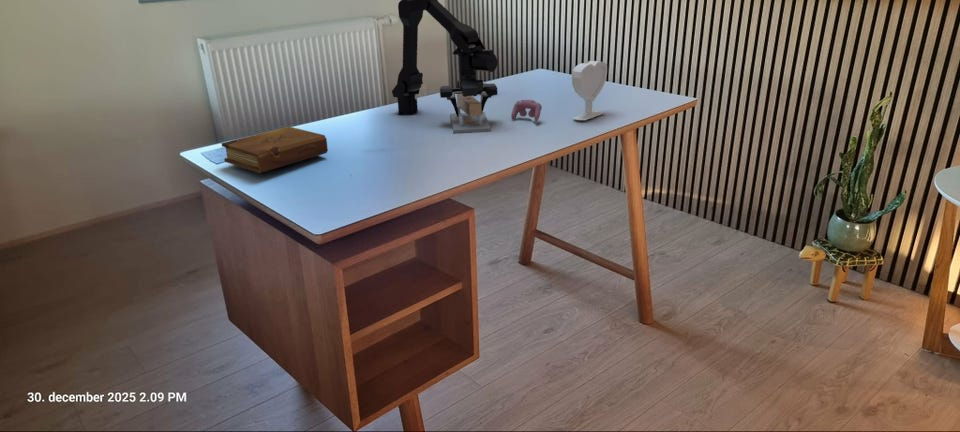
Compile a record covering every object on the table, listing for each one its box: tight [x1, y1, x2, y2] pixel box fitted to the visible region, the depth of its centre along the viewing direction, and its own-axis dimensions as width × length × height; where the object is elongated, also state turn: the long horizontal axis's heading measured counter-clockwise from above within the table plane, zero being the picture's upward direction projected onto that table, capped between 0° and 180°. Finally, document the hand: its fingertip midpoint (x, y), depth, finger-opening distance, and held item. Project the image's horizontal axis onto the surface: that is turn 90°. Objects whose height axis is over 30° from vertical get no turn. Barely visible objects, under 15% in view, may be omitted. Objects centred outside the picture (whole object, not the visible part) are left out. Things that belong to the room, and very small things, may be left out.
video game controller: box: [510, 99, 543, 122], centre depth 226 cm, size 10×5×7 cm, turn 65°
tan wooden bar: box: [456, 94, 482, 117], centre depth 222 cm, size 4×16×4 cm, turn 16°
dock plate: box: [449, 111, 492, 134], centre depth 225 cm, size 12×22×1 cm, turn 5°
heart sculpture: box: [571, 60, 608, 121], centre depth 226 cm, size 16×5×18 cm, turn 137°
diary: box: [221, 125, 329, 174], centre depth 197 cm, size 23×19×6 cm
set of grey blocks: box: [457, 106, 483, 126], centre depth 224 cm, size 8×13×4 cm, turn 5°
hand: (469, 116), depth 224 cm, fingers open, 7 cm apart
